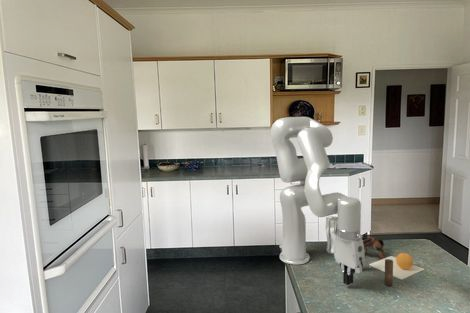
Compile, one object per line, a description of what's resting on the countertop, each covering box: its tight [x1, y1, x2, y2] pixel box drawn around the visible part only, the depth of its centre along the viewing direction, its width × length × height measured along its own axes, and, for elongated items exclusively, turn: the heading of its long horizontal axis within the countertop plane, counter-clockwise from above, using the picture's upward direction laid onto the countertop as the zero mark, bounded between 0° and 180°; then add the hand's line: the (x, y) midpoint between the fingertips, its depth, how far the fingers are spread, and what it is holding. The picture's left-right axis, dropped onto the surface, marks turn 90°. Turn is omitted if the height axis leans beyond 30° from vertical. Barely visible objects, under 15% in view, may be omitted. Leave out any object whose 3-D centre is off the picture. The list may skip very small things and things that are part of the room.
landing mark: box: [368, 255, 425, 280], centre depth 126 cm, size 14×14×1 cm
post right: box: [383, 259, 394, 288], centre depth 113 cm, size 3×3×9 cm
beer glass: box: [325, 215, 338, 255], centre depth 142 cm, size 7×7×15 cm
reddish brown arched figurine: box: [363, 237, 386, 260], centre depth 139 cm, size 12×10×8 cm
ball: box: [395, 252, 414, 269], centre depth 125 cm, size 6×6×6 cm
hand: (348, 283), depth 113 cm, fingers closed
